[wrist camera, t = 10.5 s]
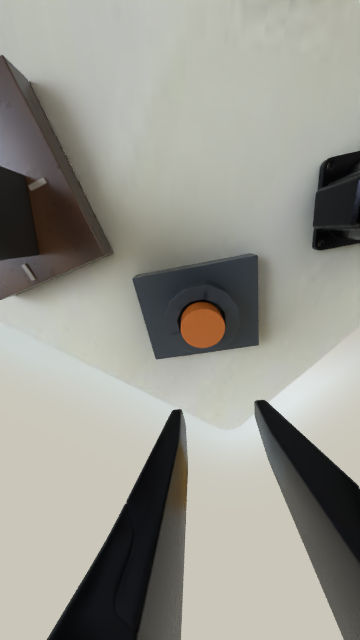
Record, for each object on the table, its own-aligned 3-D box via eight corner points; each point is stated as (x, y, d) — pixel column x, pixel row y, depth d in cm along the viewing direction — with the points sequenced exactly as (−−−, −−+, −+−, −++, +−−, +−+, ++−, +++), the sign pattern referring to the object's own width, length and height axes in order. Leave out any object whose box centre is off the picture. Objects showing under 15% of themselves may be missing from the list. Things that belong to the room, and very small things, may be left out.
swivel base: (28, 79, 13) (-1, 50, 11) (113, 253, 17) (104, 255, 15) (-98, 162, 15) (-142, 151, 13) (8, 297, 19) (-12, 304, 17)
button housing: (251, 253, 17) (266, 257, 14) (253, 337, 21) (265, 355, 17) (136, 274, 18) (126, 283, 15) (157, 350, 22) (153, 370, 18)
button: (219, 298, 16) (223, 305, 14) (223, 334, 17) (227, 345, 15) (177, 305, 16) (176, 312, 14) (184, 340, 17) (184, 351, 16)
